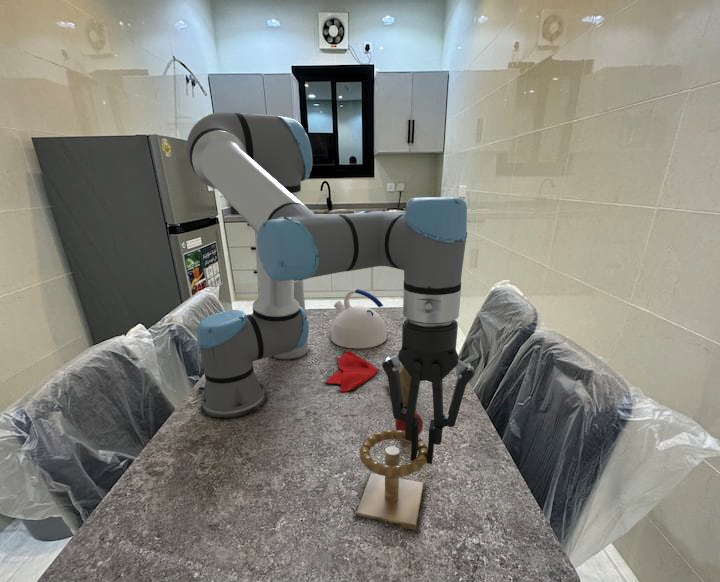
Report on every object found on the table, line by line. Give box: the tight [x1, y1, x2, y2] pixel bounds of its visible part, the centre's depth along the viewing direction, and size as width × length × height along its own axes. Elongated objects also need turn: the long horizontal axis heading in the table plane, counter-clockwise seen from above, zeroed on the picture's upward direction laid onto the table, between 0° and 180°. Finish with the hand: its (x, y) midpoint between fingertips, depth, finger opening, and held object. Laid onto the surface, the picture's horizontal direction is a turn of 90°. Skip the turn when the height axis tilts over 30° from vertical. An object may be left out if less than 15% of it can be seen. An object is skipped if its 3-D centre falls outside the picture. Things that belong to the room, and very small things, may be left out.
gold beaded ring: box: [358, 429, 428, 478], centre depth 63 cm, size 11×11×2 cm
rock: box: [387, 363, 411, 408], centre depth 99 cm, size 11×9×10 cm
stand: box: [355, 445, 424, 531], centre depth 65 cm, size 10×10×11 cm
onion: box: [394, 411, 424, 435], centre depth 83 cm, size 6×6×8 cm
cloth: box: [326, 350, 378, 393], centre depth 115 cm, size 26×14×2 cm, turn 171°
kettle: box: [330, 288, 388, 350], centre depth 136 cm, size 20×21×18 cm
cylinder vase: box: [272, 280, 309, 360], centre depth 123 cm, size 12×12×25 cm
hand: (422, 456), depth 62 cm, fingers closed on gold beaded ring, 2 cm apart
